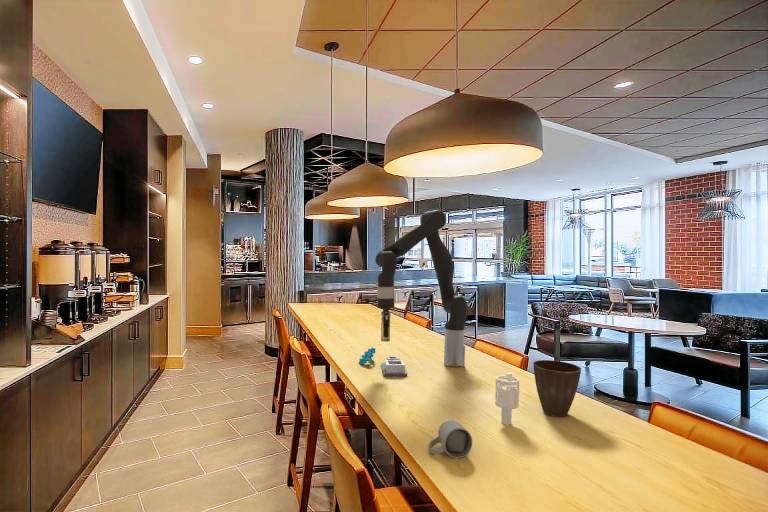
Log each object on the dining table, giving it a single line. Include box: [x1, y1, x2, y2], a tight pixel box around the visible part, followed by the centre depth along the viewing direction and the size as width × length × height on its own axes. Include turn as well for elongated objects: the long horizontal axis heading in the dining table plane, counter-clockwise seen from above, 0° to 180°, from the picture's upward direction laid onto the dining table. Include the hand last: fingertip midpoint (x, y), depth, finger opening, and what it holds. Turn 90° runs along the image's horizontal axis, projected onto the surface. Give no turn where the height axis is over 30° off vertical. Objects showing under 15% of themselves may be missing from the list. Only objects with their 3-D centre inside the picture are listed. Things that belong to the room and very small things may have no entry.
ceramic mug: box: [427, 419, 473, 459], centre depth 109 cm, size 11×8×8 cm
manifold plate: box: [380, 355, 408, 377], centre depth 186 cm, size 10×18×5 cm, turn 4°
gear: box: [358, 347, 376, 367], centre depth 196 cm, size 11×6×10 cm
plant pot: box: [532, 359, 582, 418], centre depth 139 cm, size 15×15×16 cm
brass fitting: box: [380, 321, 391, 343], centre depth 181 cm, size 4×4×8 cm
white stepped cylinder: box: [494, 371, 520, 426], centre depth 130 cm, size 7×7×15 cm
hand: (385, 335), depth 181 cm, fingers closed on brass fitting, 4 cm apart
